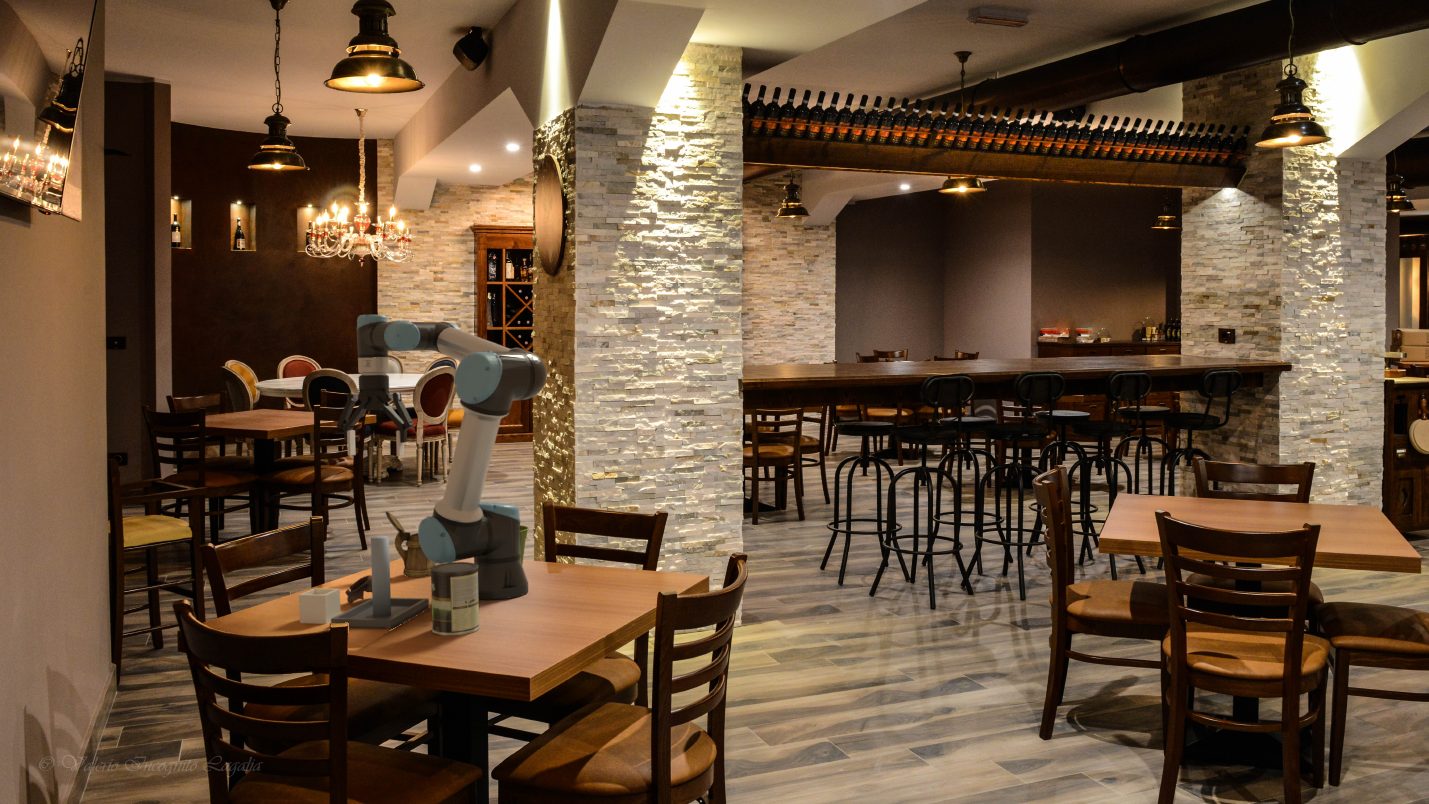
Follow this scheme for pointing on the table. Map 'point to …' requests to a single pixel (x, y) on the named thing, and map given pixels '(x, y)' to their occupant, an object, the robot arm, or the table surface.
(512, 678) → the table surface
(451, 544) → the robot arm
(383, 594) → the dowel
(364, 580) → the brown curved piece
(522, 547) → the plant pot
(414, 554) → the wooden mug
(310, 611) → the cube pedestal base
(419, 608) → the tray
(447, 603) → the coffee can
